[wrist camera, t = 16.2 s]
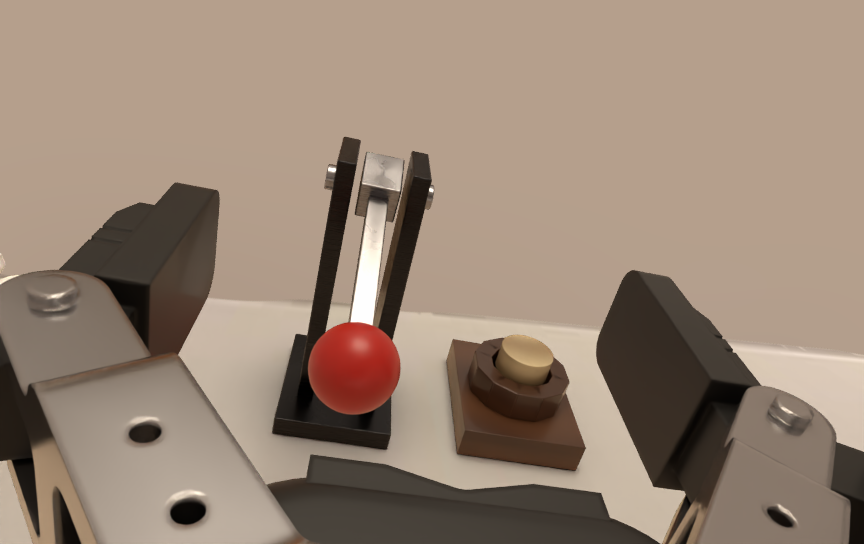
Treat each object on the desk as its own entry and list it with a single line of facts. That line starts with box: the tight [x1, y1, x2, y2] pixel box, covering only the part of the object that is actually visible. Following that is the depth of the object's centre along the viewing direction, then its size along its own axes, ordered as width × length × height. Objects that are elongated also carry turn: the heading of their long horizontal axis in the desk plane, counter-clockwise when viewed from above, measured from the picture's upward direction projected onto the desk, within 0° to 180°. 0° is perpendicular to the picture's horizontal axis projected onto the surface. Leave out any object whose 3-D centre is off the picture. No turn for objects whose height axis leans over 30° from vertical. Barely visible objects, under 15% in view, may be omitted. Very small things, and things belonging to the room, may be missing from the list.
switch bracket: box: [272, 137, 434, 449], centre depth 39 cm, size 9×7×17 cm
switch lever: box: [308, 152, 404, 415], centre depth 32 cm, size 15×4×4 cm, turn 4°
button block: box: [447, 338, 586, 470], centre depth 44 cm, size 10×8×4 cm
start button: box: [495, 335, 554, 387], centre depth 43 cm, size 4×4×2 cm
